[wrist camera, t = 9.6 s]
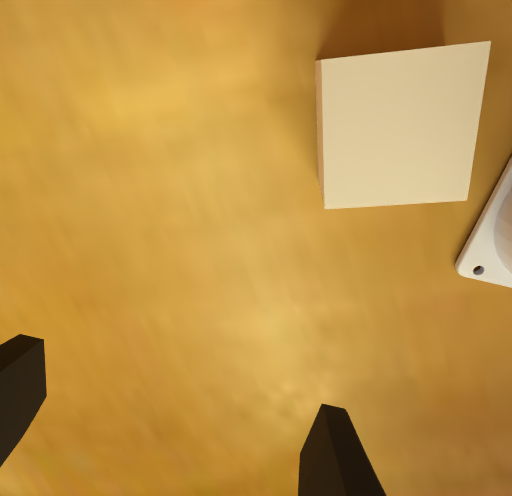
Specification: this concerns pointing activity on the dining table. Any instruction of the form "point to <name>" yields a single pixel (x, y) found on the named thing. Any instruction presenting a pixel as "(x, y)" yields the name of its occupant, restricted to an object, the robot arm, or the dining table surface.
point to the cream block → (399, 125)
